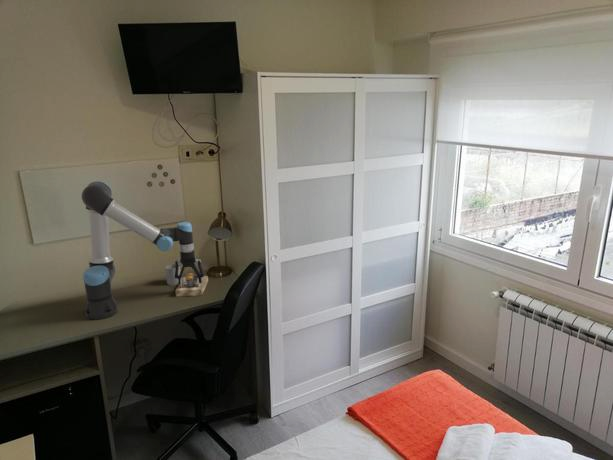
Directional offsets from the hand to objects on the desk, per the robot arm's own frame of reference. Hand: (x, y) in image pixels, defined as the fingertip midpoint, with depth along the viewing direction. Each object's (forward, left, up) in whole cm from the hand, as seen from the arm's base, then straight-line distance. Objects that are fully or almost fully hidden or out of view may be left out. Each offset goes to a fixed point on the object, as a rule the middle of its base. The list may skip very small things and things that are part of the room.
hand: (190, 289), depth 254 cm
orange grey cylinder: (0, 0, -2) cm, 2 cm away
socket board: (0, +4, -2) cm, 4 cm away
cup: (-13, +15, -2) cm, 20 cm away
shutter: (0, +7, +2) cm, 8 cm away
